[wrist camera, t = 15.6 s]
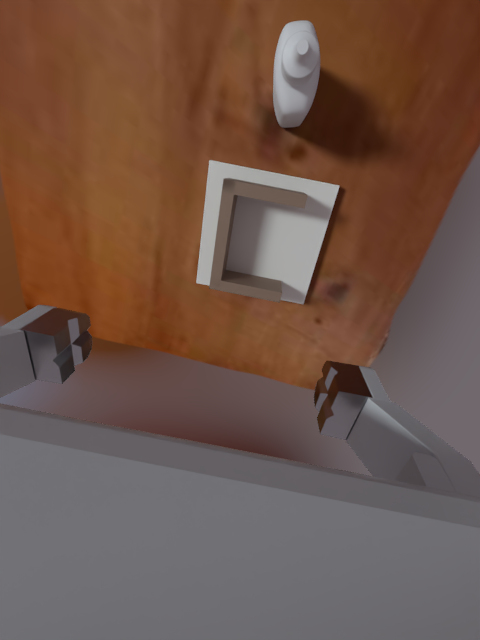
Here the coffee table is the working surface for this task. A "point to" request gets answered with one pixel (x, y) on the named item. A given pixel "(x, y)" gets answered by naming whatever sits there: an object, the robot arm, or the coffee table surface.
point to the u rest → (262, 232)
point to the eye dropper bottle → (295, 73)
